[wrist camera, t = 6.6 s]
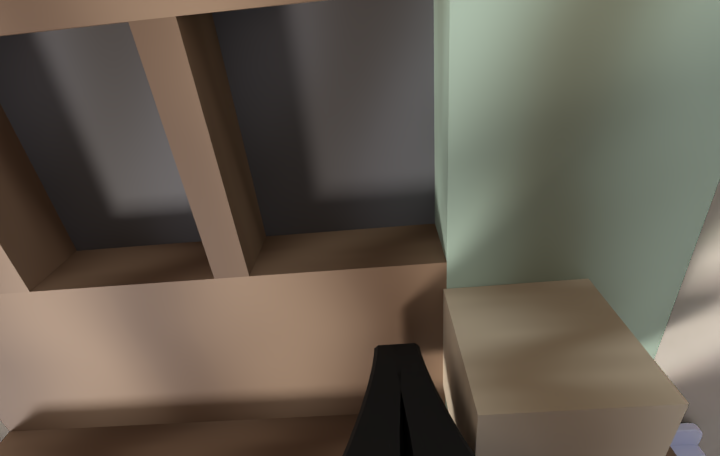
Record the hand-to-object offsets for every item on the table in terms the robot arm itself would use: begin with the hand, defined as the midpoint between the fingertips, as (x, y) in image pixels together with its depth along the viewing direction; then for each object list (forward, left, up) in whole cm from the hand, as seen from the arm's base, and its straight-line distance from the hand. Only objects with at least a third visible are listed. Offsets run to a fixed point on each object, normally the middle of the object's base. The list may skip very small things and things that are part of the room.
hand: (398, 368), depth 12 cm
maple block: (-3, 0, -1) cm, 4 cm away
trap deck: (+3, -3, -3) cm, 6 cm away
